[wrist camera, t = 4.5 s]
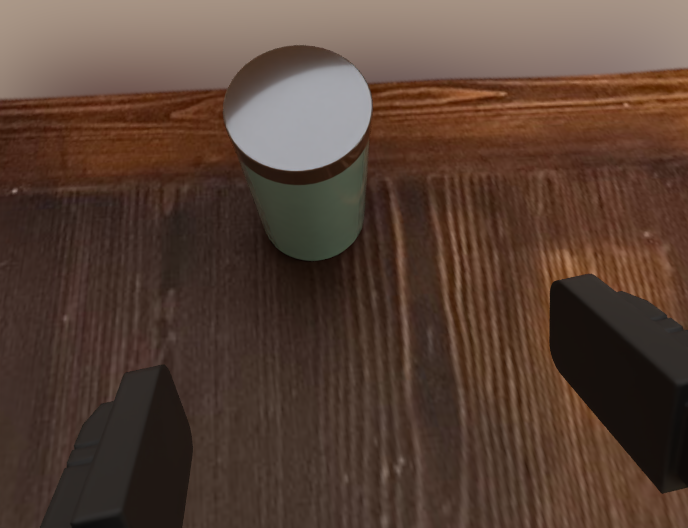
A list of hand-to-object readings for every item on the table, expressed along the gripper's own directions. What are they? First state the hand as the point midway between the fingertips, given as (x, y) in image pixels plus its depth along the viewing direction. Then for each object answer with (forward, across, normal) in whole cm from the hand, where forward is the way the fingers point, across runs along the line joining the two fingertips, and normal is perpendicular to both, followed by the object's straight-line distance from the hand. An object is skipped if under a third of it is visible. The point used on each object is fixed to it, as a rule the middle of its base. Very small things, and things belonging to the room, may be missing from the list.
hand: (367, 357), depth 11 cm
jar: (+17, 0, +3) cm, 17 cm away
